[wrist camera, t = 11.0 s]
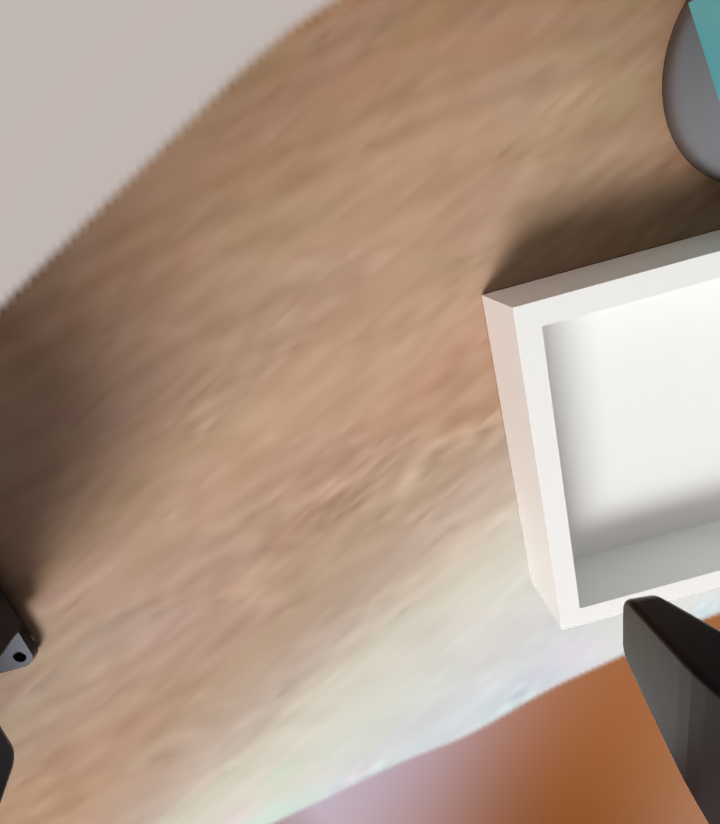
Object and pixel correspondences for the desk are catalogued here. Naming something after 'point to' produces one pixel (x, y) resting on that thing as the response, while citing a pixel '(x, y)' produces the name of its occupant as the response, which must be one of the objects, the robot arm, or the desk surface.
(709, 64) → the teal carton
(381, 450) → the desk surface
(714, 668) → the robot arm
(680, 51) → the charcoal coaster
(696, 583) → the white tray
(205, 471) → the desk surface
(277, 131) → the desk surface
